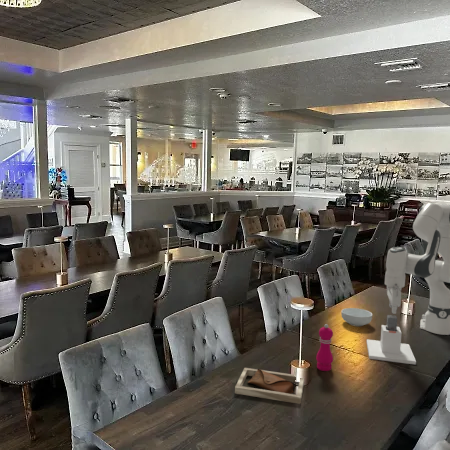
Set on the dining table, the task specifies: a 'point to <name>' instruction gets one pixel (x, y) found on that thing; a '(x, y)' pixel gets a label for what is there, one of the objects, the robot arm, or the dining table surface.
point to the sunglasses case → (272, 382)
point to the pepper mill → (325, 349)
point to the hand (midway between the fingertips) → (392, 310)
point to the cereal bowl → (356, 316)
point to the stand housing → (390, 347)
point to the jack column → (391, 323)
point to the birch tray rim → (266, 393)
